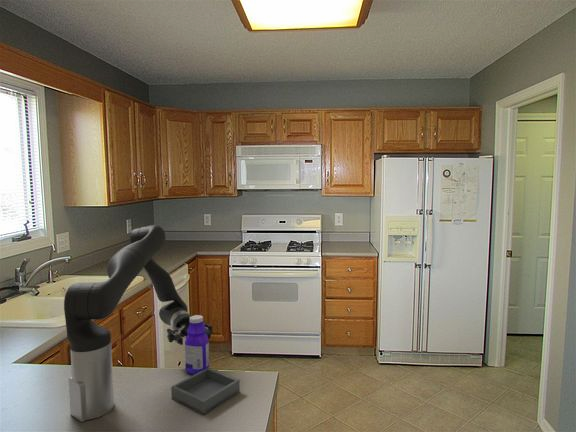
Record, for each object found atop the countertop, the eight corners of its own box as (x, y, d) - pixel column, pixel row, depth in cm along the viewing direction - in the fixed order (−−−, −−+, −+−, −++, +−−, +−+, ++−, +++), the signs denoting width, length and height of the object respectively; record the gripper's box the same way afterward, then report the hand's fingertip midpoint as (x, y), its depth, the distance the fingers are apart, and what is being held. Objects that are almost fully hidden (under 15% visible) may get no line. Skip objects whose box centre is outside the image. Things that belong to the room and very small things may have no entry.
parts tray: (203, 415, 92) (203, 401, 92) (171, 399, 100) (171, 386, 99) (239, 392, 103) (239, 380, 102) (208, 379, 110) (207, 367, 110)
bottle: (212, 368, 117) (210, 314, 116) (203, 377, 111) (201, 320, 110) (192, 366, 119) (190, 313, 118) (182, 374, 113) (180, 319, 112)
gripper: (161, 316, 126) (171, 331, 112) (202, 309, 133) (217, 323, 119) (162, 338, 126) (172, 355, 112) (203, 330, 133) (217, 345, 119)
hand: (195, 339), depth 116 cm, fingers open, 8 cm apart
